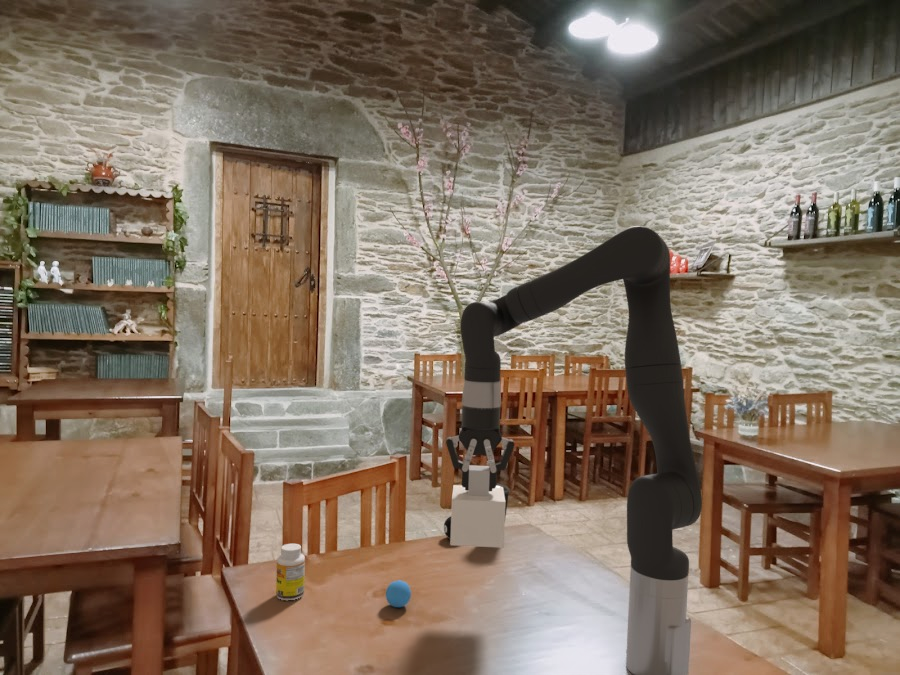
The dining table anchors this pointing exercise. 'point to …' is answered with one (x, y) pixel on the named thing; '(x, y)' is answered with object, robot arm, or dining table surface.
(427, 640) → the dining table surface
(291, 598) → the supplement bottle
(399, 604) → the blue ball
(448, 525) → the billiard ball
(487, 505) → the white block with stub
